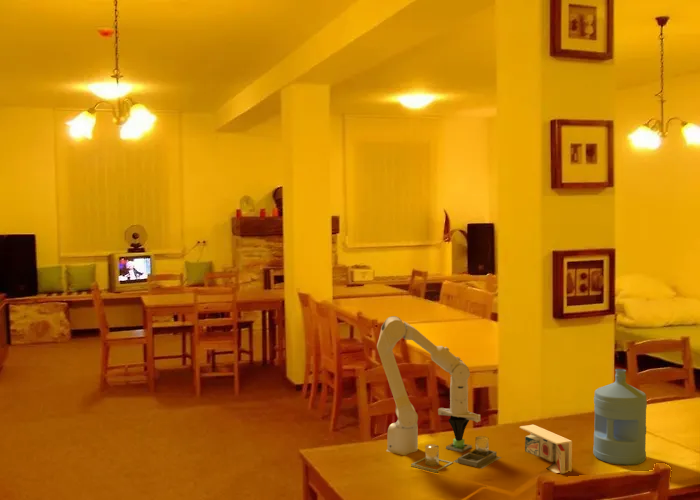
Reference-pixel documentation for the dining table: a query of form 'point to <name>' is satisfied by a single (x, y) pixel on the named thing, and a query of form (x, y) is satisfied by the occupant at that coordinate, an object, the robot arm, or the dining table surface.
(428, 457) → the cylinder
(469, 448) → the button housing
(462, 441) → the button
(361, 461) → the dining table surface
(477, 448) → the seated billet
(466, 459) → the grey pocketed tray
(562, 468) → the cigarette display
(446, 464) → the tote tray
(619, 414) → the water jug
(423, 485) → the dining table surface
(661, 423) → the dining table surface
